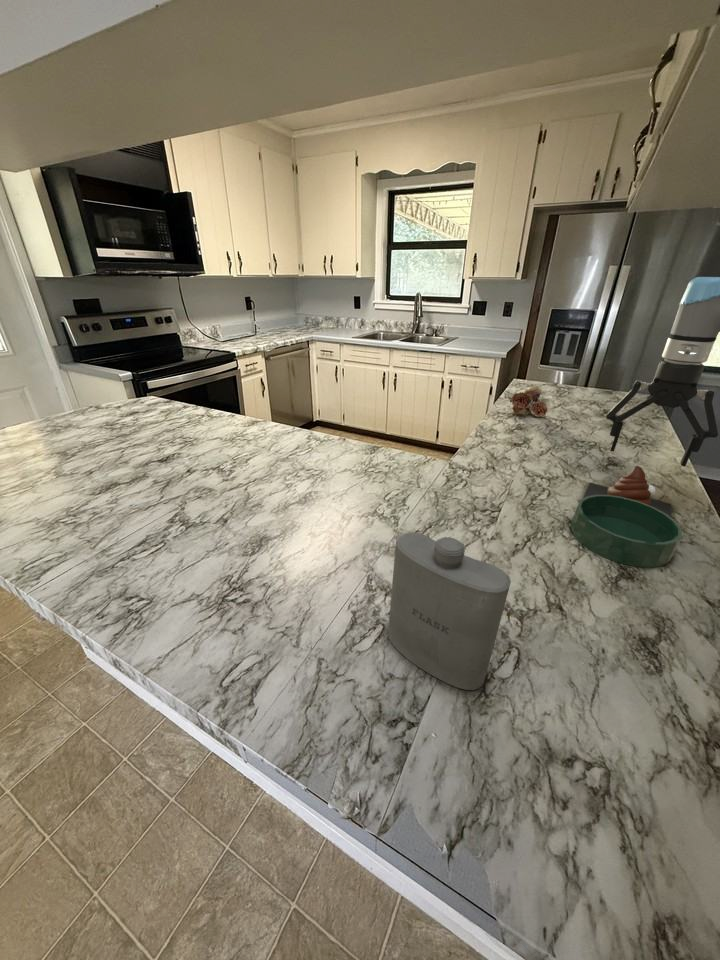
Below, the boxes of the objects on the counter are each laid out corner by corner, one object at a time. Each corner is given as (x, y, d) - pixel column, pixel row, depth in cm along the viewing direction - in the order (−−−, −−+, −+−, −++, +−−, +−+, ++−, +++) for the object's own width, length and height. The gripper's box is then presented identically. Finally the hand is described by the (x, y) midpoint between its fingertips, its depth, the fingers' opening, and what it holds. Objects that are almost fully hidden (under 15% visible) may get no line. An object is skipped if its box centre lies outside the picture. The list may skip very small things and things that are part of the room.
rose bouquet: (495, 396, 155) (532, 393, 143) (515, 381, 163) (551, 377, 152) (502, 427, 159) (539, 426, 148) (521, 411, 168) (557, 408, 156)
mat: (670, 505, 97) (671, 503, 96) (670, 528, 88) (671, 526, 88) (589, 484, 106) (589, 482, 105) (581, 502, 97) (582, 500, 97)
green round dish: (671, 534, 86) (681, 512, 83) (671, 581, 72) (683, 557, 70) (578, 506, 95) (585, 486, 92) (563, 543, 81) (570, 521, 79)
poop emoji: (597, 492, 100) (609, 458, 96) (629, 492, 101) (642, 458, 97) (624, 513, 92) (638, 477, 87) (658, 513, 92) (674, 477, 88)
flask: (377, 641, 59) (385, 530, 49) (399, 618, 63) (410, 511, 53) (472, 703, 50) (503, 584, 41) (490, 672, 55) (521, 557, 45)
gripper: (611, 356, 84) (583, 448, 94) (767, 373, 72) (717, 477, 82) (614, 352, 90) (588, 439, 100) (760, 366, 77) (714, 464, 87)
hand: (646, 456), depth 91 cm, fingers open, 13 cm apart
